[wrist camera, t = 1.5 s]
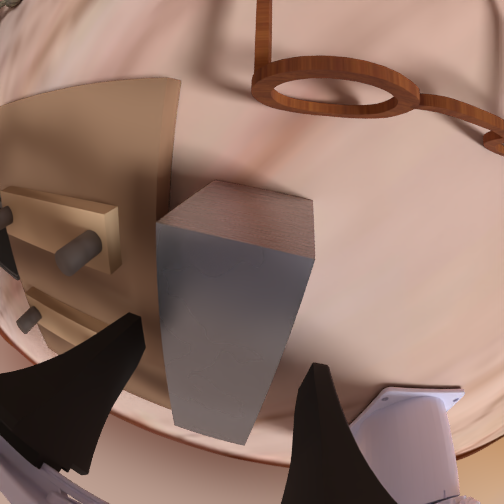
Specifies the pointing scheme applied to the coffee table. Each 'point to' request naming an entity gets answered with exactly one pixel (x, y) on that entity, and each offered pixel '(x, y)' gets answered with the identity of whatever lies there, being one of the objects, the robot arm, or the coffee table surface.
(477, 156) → the coffee table surface
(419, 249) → the coffee table surface
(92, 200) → the peg rack
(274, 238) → the metal bar
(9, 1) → the tabletop clock
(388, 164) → the coffee table surface
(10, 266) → the phone
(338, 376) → the coffee table surface
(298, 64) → the glasses
